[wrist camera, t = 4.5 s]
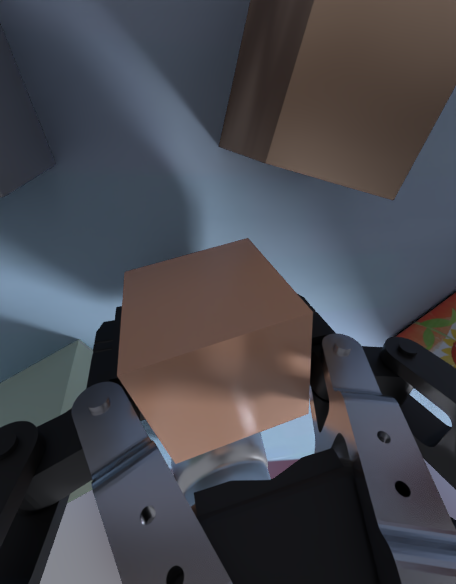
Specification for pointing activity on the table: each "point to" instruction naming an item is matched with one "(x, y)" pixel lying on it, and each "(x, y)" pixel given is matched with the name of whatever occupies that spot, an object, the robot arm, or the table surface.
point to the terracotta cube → (214, 348)
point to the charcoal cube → (18, 128)
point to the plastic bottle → (222, 466)
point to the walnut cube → (342, 87)
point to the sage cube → (47, 390)
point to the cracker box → (437, 331)
